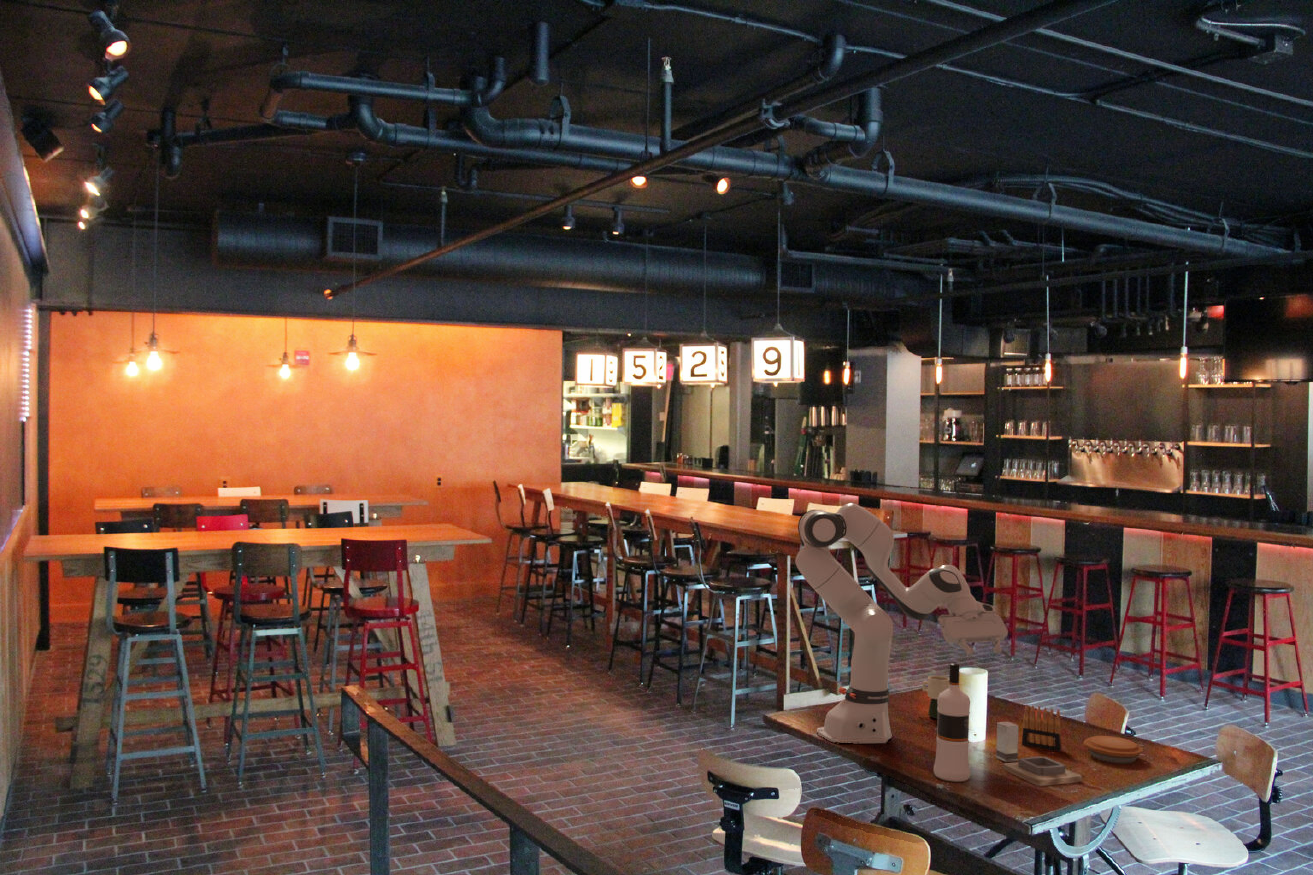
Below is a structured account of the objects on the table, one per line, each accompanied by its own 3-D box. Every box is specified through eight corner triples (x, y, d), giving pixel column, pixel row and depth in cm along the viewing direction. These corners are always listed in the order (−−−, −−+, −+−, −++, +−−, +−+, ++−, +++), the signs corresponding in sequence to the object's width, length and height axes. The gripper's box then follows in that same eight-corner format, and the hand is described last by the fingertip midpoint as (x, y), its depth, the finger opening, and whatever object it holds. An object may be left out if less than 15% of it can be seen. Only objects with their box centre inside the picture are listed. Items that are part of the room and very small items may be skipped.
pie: (1136, 752, 291) (1137, 735, 291) (1147, 769, 276) (1148, 751, 276) (1079, 747, 295) (1080, 730, 295) (1087, 762, 280) (1088, 744, 280)
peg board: (1038, 786, 258) (1038, 772, 258) (1002, 769, 271) (1003, 756, 271) (1081, 781, 263) (1081, 768, 263) (1044, 765, 276) (1044, 752, 276)
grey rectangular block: (1005, 762, 278) (1006, 726, 278) (996, 757, 282) (996, 722, 282) (1017, 761, 279) (1018, 725, 279) (1007, 756, 283) (1008, 721, 283)
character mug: (958, 718, 322) (959, 678, 322) (951, 723, 316) (952, 682, 316) (925, 712, 328) (926, 673, 328) (918, 717, 322) (919, 677, 322)
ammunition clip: (1021, 744, 295) (1022, 704, 295) (1023, 743, 297) (1024, 703, 297) (1060, 751, 289) (1061, 710, 289) (1061, 750, 291) (1062, 709, 291)
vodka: (929, 770, 268) (932, 659, 268) (964, 771, 268) (967, 660, 268) (938, 782, 259) (942, 666, 259) (974, 783, 259) (977, 667, 259)
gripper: (940, 608, 295) (958, 649, 286) (998, 606, 301) (1019, 645, 292) (931, 621, 299) (949, 660, 290) (989, 617, 306) (1009, 656, 296)
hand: (984, 653), depth 291 cm, fingers open, 8 cm apart
